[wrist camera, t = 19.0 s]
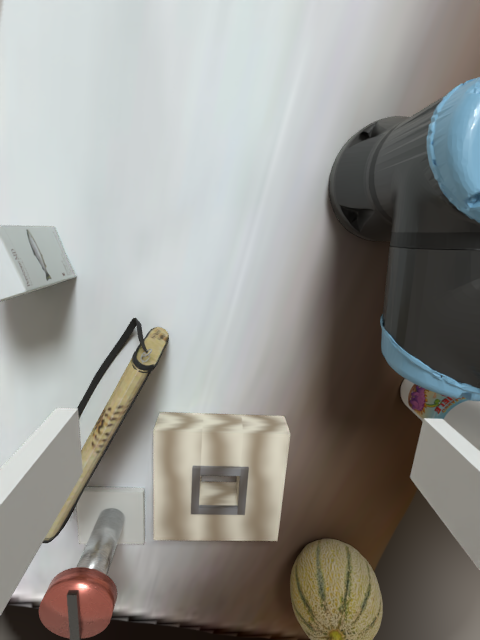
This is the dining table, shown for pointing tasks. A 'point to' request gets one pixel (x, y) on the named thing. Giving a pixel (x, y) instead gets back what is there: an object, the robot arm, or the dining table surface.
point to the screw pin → (85, 585)
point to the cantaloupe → (335, 592)
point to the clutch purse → (112, 409)
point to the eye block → (218, 460)
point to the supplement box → (31, 260)
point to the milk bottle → (444, 410)
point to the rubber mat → (118, 498)
